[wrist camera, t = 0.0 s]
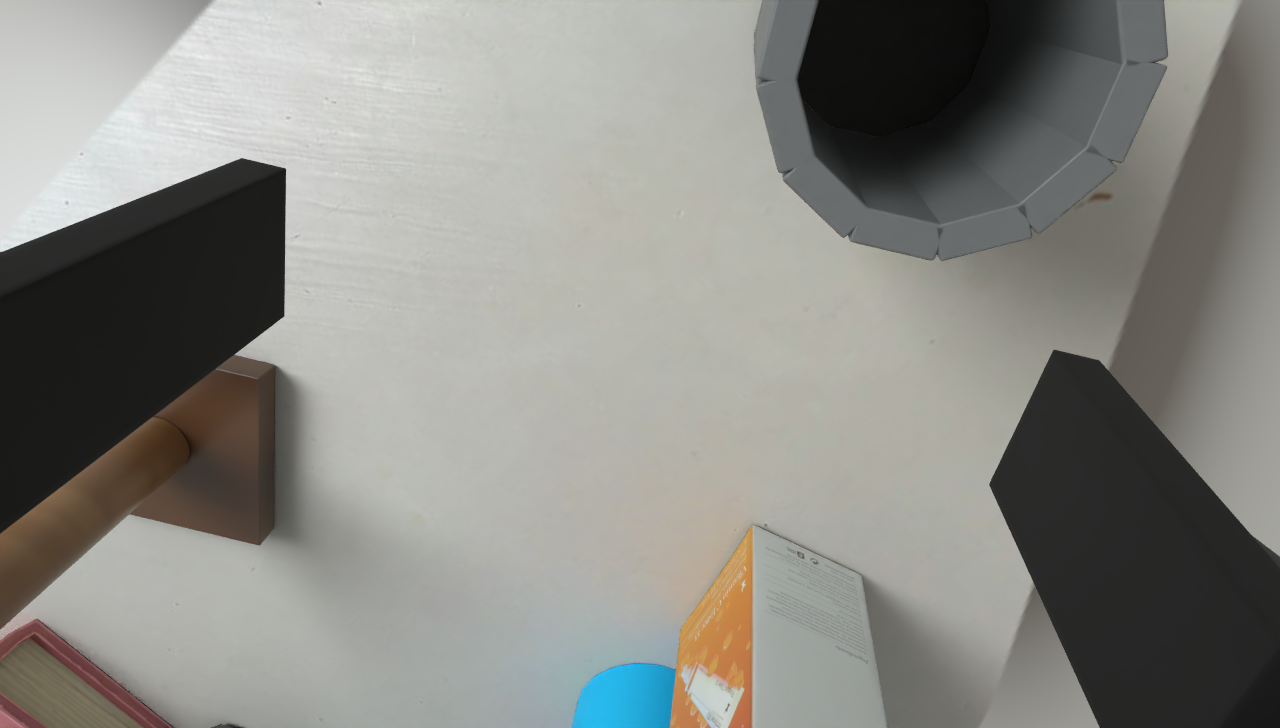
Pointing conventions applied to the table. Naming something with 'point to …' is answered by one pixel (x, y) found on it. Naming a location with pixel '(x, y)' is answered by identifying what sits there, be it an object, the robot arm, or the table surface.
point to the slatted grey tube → (973, 127)
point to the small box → (778, 645)
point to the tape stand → (159, 481)
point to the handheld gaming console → (222, 726)
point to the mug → (627, 698)
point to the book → (61, 687)
